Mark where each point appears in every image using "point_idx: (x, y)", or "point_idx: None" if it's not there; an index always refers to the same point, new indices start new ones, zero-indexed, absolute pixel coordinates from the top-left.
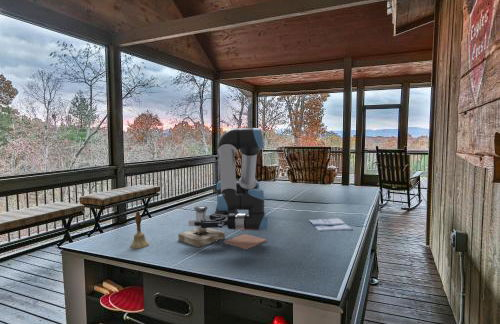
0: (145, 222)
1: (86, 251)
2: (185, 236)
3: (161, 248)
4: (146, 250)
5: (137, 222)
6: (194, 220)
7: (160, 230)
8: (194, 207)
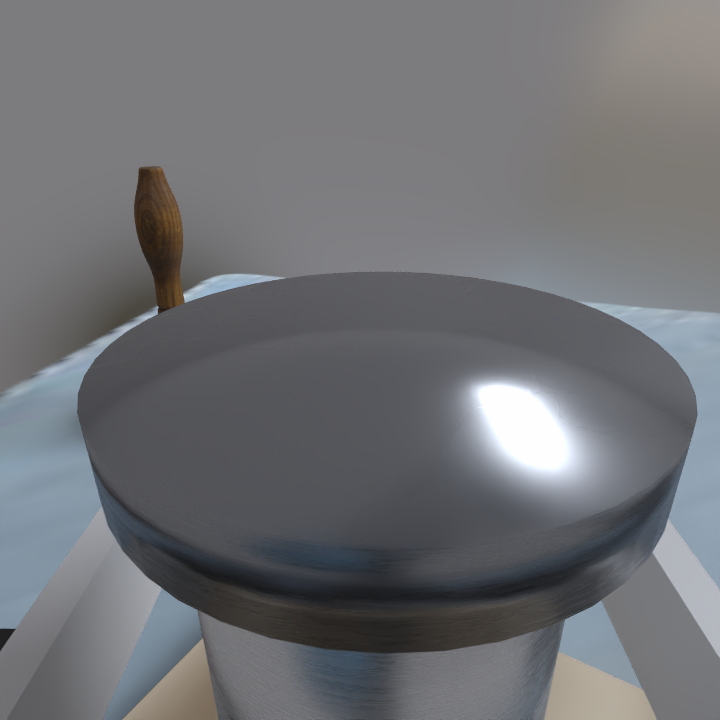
0: (623, 316)
1: (144, 316)
2: (194, 647)
3: (62, 542)
4: (55, 472)
5: (142, 250)
6: (58, 585)
7: None
8: (312, 277)
